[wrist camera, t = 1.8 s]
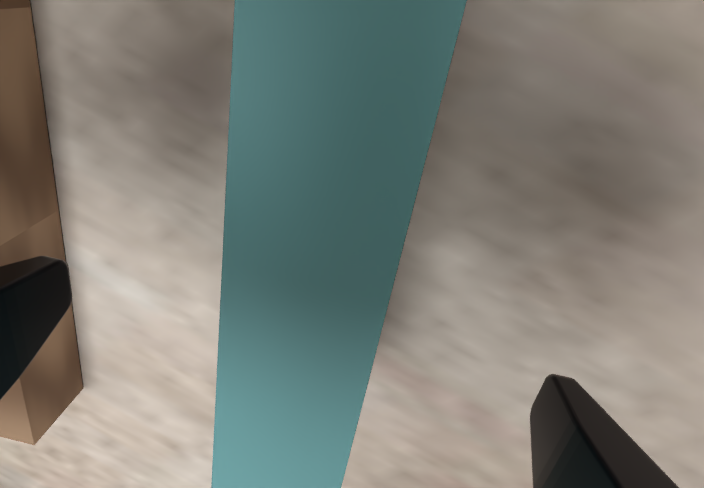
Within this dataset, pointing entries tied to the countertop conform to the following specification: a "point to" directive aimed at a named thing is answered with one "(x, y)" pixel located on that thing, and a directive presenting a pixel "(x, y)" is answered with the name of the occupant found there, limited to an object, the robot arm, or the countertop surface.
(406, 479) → the countertop surface
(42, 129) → the brown slotted board
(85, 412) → the countertop surface
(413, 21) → the teal drawer handle
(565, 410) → the robot arm
